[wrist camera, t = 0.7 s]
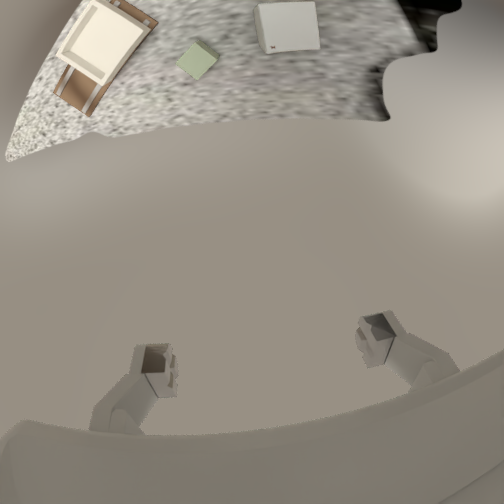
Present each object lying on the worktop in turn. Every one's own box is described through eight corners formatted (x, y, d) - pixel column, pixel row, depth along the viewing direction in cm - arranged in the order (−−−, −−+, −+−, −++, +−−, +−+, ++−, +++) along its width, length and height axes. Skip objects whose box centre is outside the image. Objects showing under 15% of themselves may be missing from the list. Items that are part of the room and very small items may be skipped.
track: (116, -4, 30) (113, -5, 29) (158, 22, 35) (156, 22, 34) (55, 91, 40) (51, 93, 40) (90, 115, 46) (87, 118, 45)
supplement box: (302, 43, 39) (321, 51, 30) (258, 46, 40) (264, 55, 31) (298, 4, 34) (316, 0, 25) (252, 7, 35) (256, 3, 26)
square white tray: (107, -1, 29) (92, -2, 25) (154, 28, 35) (143, 30, 31) (72, 49, 34) (55, 55, 30) (115, 78, 40) (102, 86, 36)
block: (199, 39, 38) (194, 42, 34) (219, 55, 41) (217, 60, 37) (181, 58, 41) (175, 63, 36) (201, 73, 43) (196, 80, 39)
